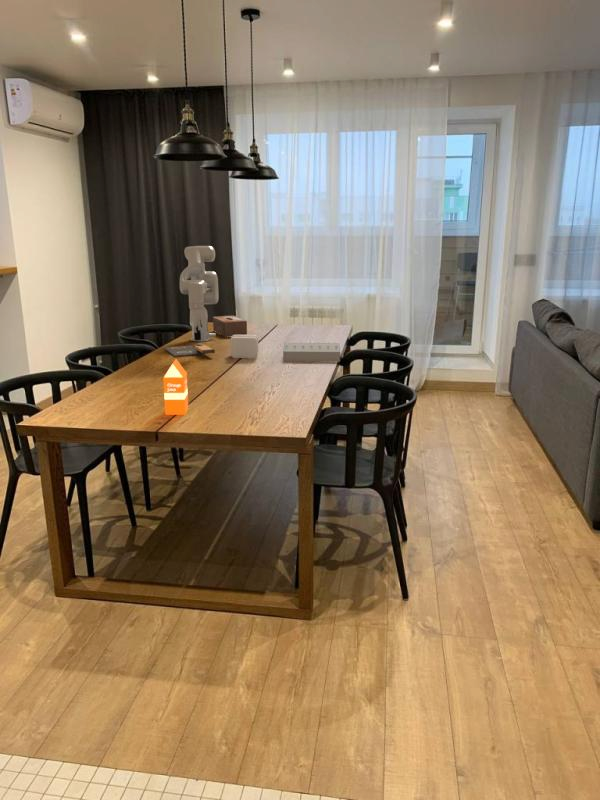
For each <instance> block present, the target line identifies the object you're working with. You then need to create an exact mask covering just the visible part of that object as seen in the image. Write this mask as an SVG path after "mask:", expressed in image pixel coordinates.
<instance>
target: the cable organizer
mask: <svg viewBox="0 0 600 800" xmlns="http://www.w3.org/2000/svg"><path fill="white" fill-rule="evenodd" d="M258 354H259V337H258V335H255V334H247V335H233V336H232V337H230V356H231V357H232V358H234V359H236V358H242V359H247V358H248V359H247V360H254V359H256V358H257V357H258Z"/></svg>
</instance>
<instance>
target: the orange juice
mask: <svg viewBox="0 0 600 800" xmlns="http://www.w3.org/2000/svg"><path fill="white" fill-rule="evenodd" d="M162 378H163V393H164V394H163V396H164V397H163V398H164V412H165V416H166V415H169V416H170V415H173V416H174V415H177V416H181V415H185V416H186V413H187V412H188V410H189V395H188V394H189V392H188V391H189V390H188V373H187V371H186V369H184V367H183V366H182V365H181V363H180V362H179V361H178V359H177V358H175V360H174V361H173V363H172V364H171V365H170V366H169V368H168V370H167V372H166V373H165V374H164V376H163V377H162Z"/></svg>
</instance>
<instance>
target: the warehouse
mask: <svg viewBox="0 0 600 800" xmlns="http://www.w3.org/2000/svg"><path fill="white" fill-rule="evenodd" d="M282 352H283V353H282V355H283V357H282V359H283V362H301V361H337V362H336V363H340V362H341V346H340V343H336V342H334V343H332V342H330V343H329V342H319V343H318V342H284V345H283V351H282Z"/></svg>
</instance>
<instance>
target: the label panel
mask: <svg viewBox="0 0 600 800" xmlns="http://www.w3.org/2000/svg"><path fill="white" fill-rule="evenodd" d="M163 350H165V351H166V352H168V354H170V355H171V356H172V357H173V358H182V357H183V356H184V357H193V356H194V355H196V356H203V355H204V354H203V353H202V352H200V351H198V350H197V349H195V346H193V345H181V346H169V347H168V346H167V347H164V349H163ZM194 357H195V356H194Z"/></svg>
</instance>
